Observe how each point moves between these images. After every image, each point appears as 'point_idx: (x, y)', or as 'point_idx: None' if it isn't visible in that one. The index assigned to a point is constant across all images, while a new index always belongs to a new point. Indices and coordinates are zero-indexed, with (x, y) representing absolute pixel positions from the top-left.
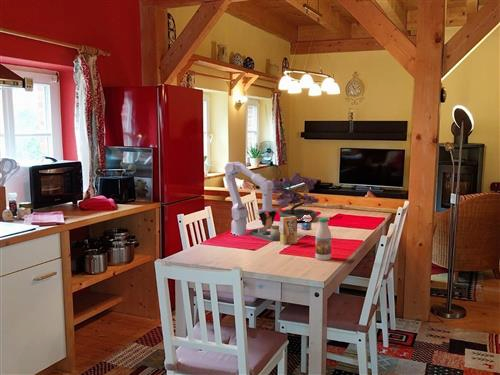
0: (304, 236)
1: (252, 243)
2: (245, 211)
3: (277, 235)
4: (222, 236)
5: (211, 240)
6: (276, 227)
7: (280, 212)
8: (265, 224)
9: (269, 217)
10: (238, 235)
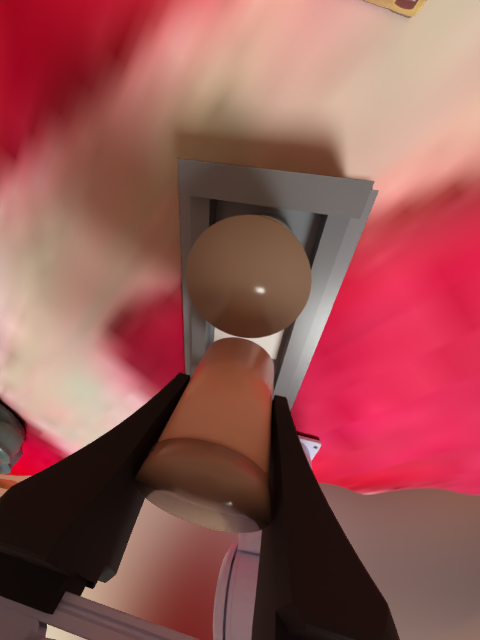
0: (15, 152)
1: (467, 303)
2: (248, 629)
3: (305, 175)
4: (364, 477)
5: (473, 483)
6: (277, 223)
7: (3, 467)
8: (277, 402)
9: (222, 472)
10: (320, 444)
